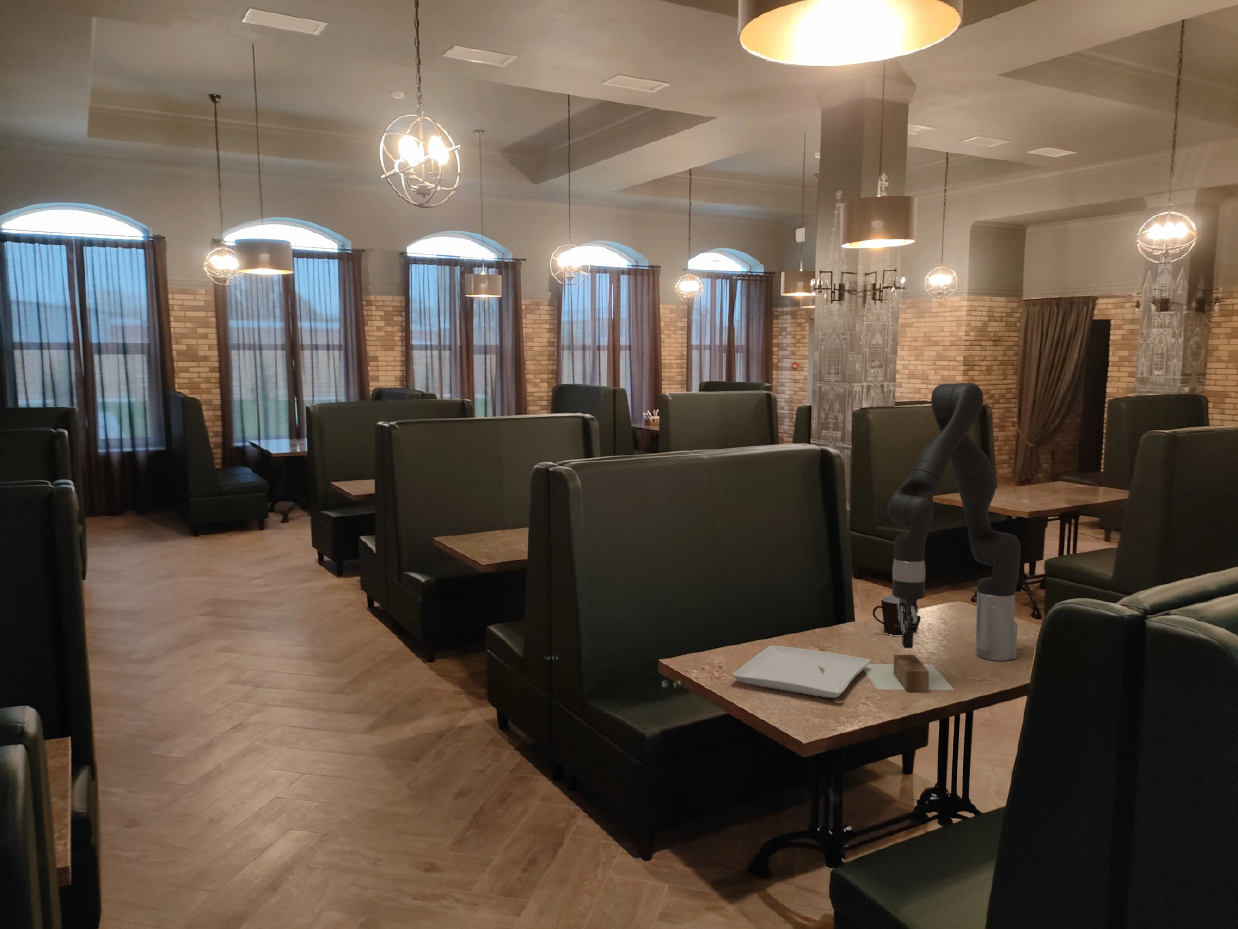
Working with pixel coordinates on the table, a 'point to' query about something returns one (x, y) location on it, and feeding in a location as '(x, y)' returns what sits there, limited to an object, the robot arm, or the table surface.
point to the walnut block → (911, 673)
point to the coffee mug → (889, 615)
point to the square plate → (801, 670)
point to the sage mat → (887, 681)
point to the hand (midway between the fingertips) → (907, 647)
